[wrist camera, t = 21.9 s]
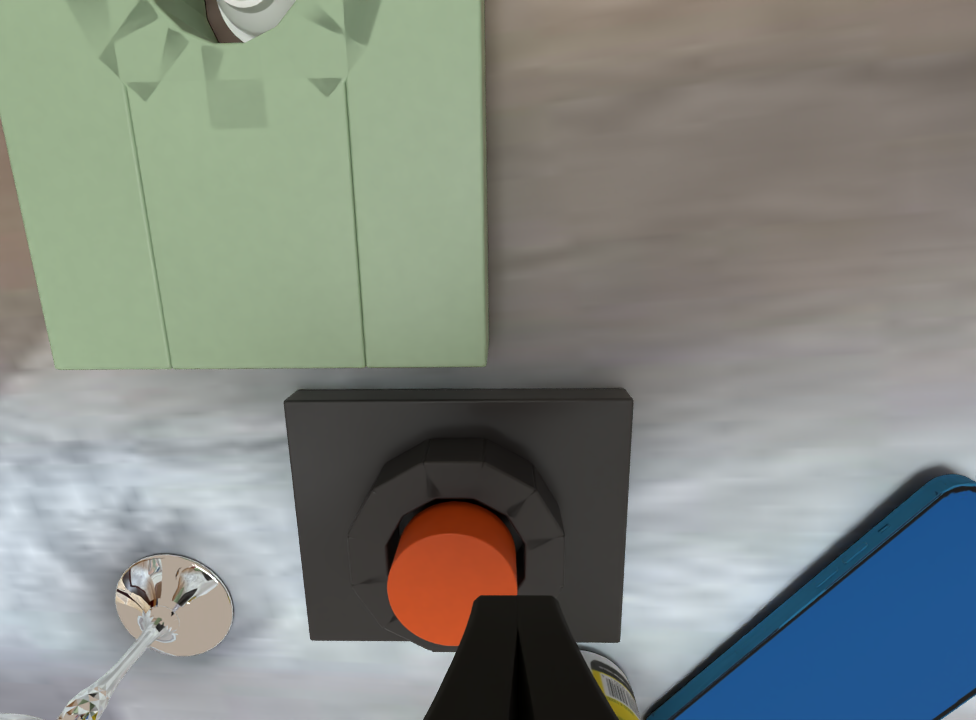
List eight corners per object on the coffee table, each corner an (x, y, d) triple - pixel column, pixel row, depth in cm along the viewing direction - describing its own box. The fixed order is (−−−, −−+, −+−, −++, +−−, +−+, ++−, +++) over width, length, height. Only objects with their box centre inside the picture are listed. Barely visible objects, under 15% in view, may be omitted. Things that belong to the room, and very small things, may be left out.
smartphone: (634, 744, 20) (966, 469, 17) (629, 721, 21) (942, 456, 17) (771, 842, 21) (1111, 601, 18) (760, 815, 22) (1080, 581, 18)
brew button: (515, 500, 16) (517, 533, 14) (515, 604, 17) (517, 647, 15) (395, 500, 16) (382, 533, 14) (401, 603, 17) (390, 646, 15)
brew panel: (625, 387, 17) (650, 419, 15) (613, 619, 20) (633, 687, 17) (296, 389, 18) (256, 421, 15) (320, 617, 20) (289, 684, 17)
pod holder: (481, -177, 14) (476, -286, 11) (488, 344, 17) (486, 367, 14) (35, -162, 14) (-85, -263, 11) (128, 347, 18) (53, 370, 15)
